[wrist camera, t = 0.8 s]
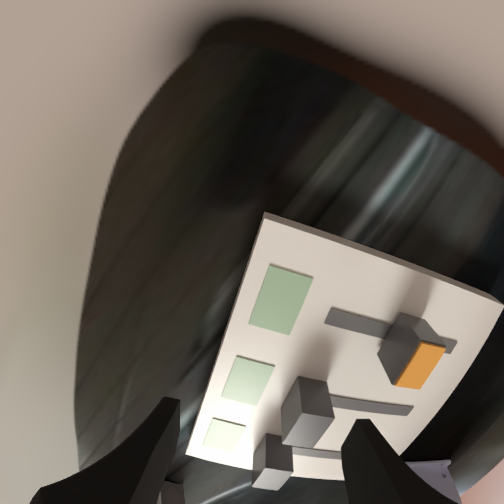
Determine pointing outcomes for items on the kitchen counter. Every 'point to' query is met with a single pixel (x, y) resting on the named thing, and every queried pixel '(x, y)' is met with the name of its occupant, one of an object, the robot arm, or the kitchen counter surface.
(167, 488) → the electrical switch
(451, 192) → the kitchen counter surface
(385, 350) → the handle
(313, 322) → the breaker panel
